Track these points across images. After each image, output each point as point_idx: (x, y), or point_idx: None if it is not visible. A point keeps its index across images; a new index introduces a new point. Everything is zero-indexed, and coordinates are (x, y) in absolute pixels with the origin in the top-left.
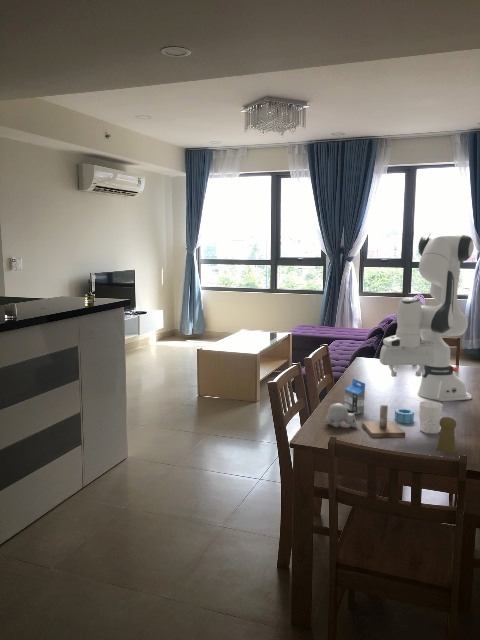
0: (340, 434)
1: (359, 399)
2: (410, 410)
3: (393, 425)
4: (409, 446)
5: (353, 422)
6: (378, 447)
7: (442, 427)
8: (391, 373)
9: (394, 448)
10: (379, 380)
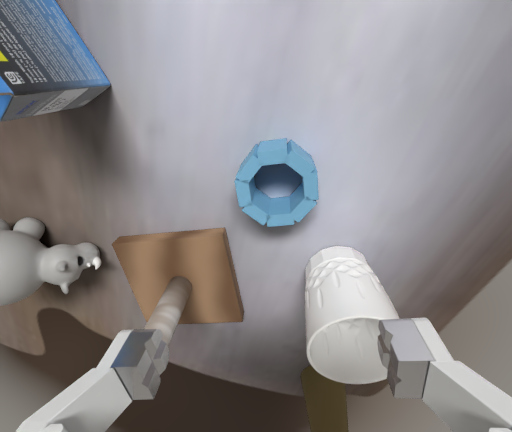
0: (69, 298)
1: (37, 110)
2: (309, 177)
3: (215, 273)
4: (241, 359)
5: (83, 269)
6: (168, 361)
7: None
8: (111, 346)
9: (204, 366)
10: None
